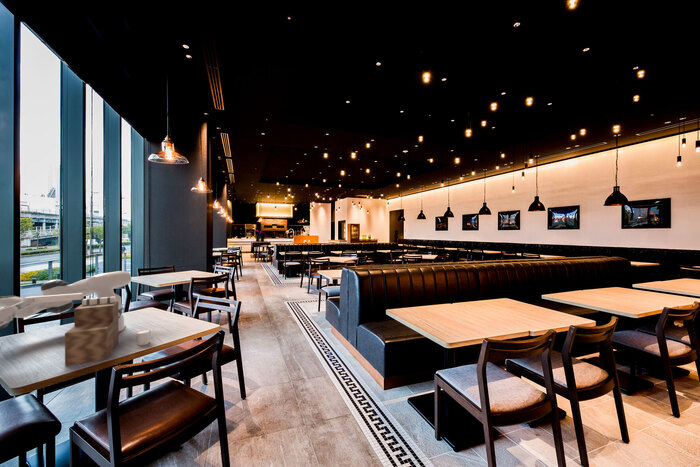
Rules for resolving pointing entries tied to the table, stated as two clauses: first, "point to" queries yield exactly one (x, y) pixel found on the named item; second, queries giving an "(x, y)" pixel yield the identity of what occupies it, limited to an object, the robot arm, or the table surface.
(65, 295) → the plain bar
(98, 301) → the striped bar
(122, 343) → the table surface
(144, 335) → the white rounded cube
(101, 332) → the two-step stand
